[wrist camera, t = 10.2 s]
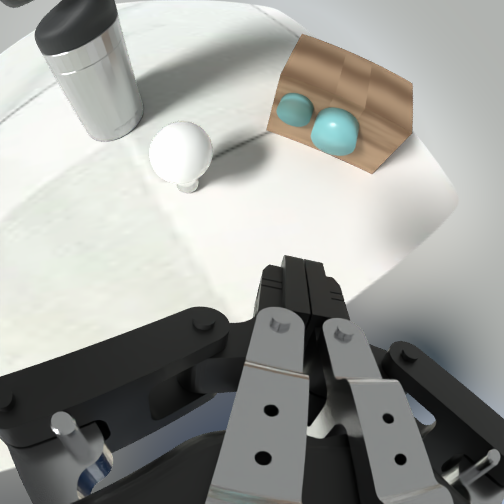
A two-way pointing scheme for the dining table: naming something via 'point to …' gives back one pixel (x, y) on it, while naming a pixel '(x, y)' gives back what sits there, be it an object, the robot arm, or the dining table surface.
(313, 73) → the mount
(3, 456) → the dining table surface
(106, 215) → the dining table surface
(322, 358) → the robot arm
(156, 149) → the lightbulb
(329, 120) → the knob
